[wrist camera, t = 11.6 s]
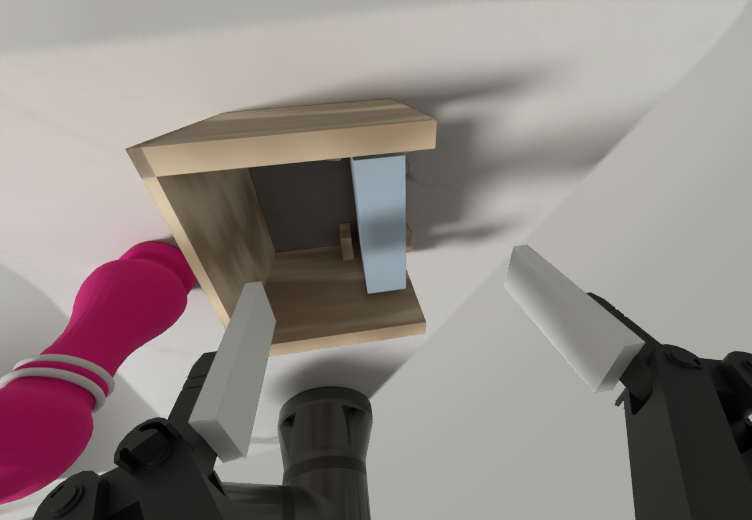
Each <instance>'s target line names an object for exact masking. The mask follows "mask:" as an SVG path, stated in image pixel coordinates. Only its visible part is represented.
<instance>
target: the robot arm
mask: <svg viewBox="0 0 752 520" xmlns="http://www.w3.org/2000/svg"><path fill="white" fill-rule="evenodd" d="M504 288H505V289H506V290H507V291H508V292H509V293H510V295H511V296H512V297H513V298H514V299H515V300H516V302H517V303H518V304H519V305H520V306H521V307H522V309H523V310H524V311H525V312H526V314H527V315H528V316H529V317H530V318H531V319H532V321H533V322H534V323H535V324H536V325H537V326H538V328H539V329H540V330H541V331H542V332H543V334H544V335H545V336H546V337H547V338H548V339H549V340H550V342H551V343H552V344H553V345H554V346H555V348H556V349H557V350H558V351H559V352H560V353H561V354H562V356H563V357H564V358H565V359H566V361H567V362H568V363H569V364H570V365H571V366H572V368H573V369H574V370H575V371H576V372H577V374H578V375H579V376H580V377H581V378H582V379H583V380H584V382H585V383H586V384H587V385H588V386H589V388H590V389H591V390H592V391H593V392H594V393H597V392H603V391H609V390H613V388H614V387H615V385H616V384H617V382H618V381H619V380H620V381H621V382H622V383H623V384H624V386H625V387H626V388H625V389H624V391H623V392H622V393H621V395H620V396H619V397H618V399H617V400H616V403H615V405H616V406H619V405H620V404H621V403H622V401H624V409H625V417H626V428H627V438H628V447H629V458H630V467H631V478H632V488H633V498H634V508H635V518H636V520H752V422H751V421H750V419H749V418H748V416H749V415H751V414H752V354H750V353H746V352H739V351H734V352H731V353H729V354H728V355H727V356H726V357H725V358H724V359H723V360H713V359H704V358H698V357H697V356H696V355H694V354H693V353H691V352H689V351H687V350H685V349H683V348H680V347H677V346H674V345H668V344H664V345H662V344H660V343H659V342H658V341H656V340H655V339H654V338H653V337H651V336H650V335H649V334H648V333H646V332H645V331H644V330H642V329H641V328H640V327H639V326H638V325H636V324H635V323H634V322H632V321H631V320H630V319H629V318H627V317H625V316H624V314H622V313H621V312H620V311H619V310H616V309H615V307H613V306H612V305H611V304H610V303H609V302H607V301H606V300H605V299H603V298H601V297H599V296H597V295H595V294H593V293H591V292H590V293H585V292H584V291H583V290H582V289H580V288H579V287H578V286H577V285H575V284H574V283H573V282H572V281H571V280H569V279H568V278H567V277H566V276H564V275H563V274H562V273H561V272H560V271H559V270H557V269H556V268H555V267H554V266H552V265H551V264H550V263H549V262H548V261H546V260H545V259H544V258H543V257H542V256H540V255H539V254H538V253H537V252H536V251H534V250H533V249H532V248H531V247H529V246H528V245H521V246H514V247H513V251H512V256H511V260H510V264H509V268H508V272H507V276H506V281H505V285H504ZM275 324H276V320H275V317H274V314H273V312H272V309H271V306H270V304H269V301H268V298H267V296H266V293H265V290H264V288H263V285H262V282H261V281H260V282H253V283H245V285H244V288H243V290H242V293H241V295H240V297H239V300H238V302H237V305H236V307H235V310H234V312H233V314H232V317H231V319H230V322H229V324H228V327H227V329H226V331H225V334H224V336H223V339H222V341H221V344H220V346H219V348H218V351H215V352H209V353H204V354H203V355H202V356H201V357H200V358H199V359H198V360H197V362H196V363H195V364H194V365H193V367H192V369H191V371H190V373H189V375H188V377H187V378H188V379H187V380H186V382H185V384H184V386H183V388H182V389H183V390H182V391H181V392H180V394H179V396H178V398H177V400H176V403H175V405H174V407H173V409H172V411H171V413H170V415H169V417H168V419H167V420H166V419H165V418H159V417H157V418H153V419H149V420H147V421H145V422H143V423H141V424H139V425H138V426H136V427H135V428H134V429H133V430H132V431H130V432H129V433H128V434H127V435H126V436H125V437H124V439H123V440H122V441H121V443H120V444H119V446H118V448H117V450H116V452H115V454H114V463H115V464H116V465H118V466H119V467H117V468H115V469H113V470H111V471H109V472H107V473H105V474H102V475H100V476H99V475H98V474H96V473H95V472H93V471H82V472H80V473H78V474H75V475H72V476H71V477H69V478H68V479H66V480H65V481H63V482H62V483H60V484H59V485H58V486H57V487H56V488H55V489H54V490H52V491H51V492H50V493H49V494H48V495H47V497H46V498H45V499H44V500H43V502H42V503H41V504H40V506H39V507H38V509H37V511H36V513H35V515H34V517H33V520H371V518H370V508H369V496H368V485H367V474H366V455H367V450H368V443H369V439H370V433H371V428H372V409H371V404H370V402H369V400H368V399H367V398H366V397H365V396H363V395H362V394H360V393H358V392H356V391H353V390H349V389H344V388H320V389H314V390H310V391H307V392H304V393H301V394H299V395H297V396H295V397H293V398H291V399H290V400H288V401H287V402H286V403H285V404H284V405H283V407H282V408H281V410H280V414H279V421H278V435H279V441H280V448H281V454H282V460H283V466H284V475H283V484H282V485H266V484H265V485H264V484H250V483H232V482H221V481H220V479H219V477H218V475H217V473H216V472H215V470H214V469H213V468H214V464H215V461H216V458H217V456H218V457H219V459H220V460H221V461H222V462H223V463H226V462H231V461H236V460H242V459H246V456H247V452H248V447H249V443H250V438H251V433H252V429H253V424H254V420H255V415H256V411H257V406H258V401H259V397H260V392H261V388H262V383H263V379H264V374H265V369H266V365H267V360H268V356H269V351H270V347H271V342H272V338H273V333H274V328H275Z"/></svg>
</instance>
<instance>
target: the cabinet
mask: <svg viewBox="0 0 752 520" xmlns="http://www.w3.org/2000/svg"><path fill="white" fill-rule="evenodd" d="M436 127H437V120H436V119H434V118H432V117H430V116H428V115H425V114H423V113H421V112H419V111H417V110H414V109H412V108H410V107H408V106H406V105H403V104H401V103H399V102H397V101H395V100H392V99H378V100H367V101H355V102H344V103H332V104H321V105H309V106H298V107H287V108H275V109H264V110H252V111H241V112H229V113H221V114H218V115H216V116H213V117H210V118H207V119H205V120H202V121H199V122H197V123H194V124H191V125H189V126H186V127H183V128H180V129H178V130H175V131H172V132H170V133H167V134H164V135H162V136H159V137H156V138H154V139H151V140H148V141H145V142H143V143H140V144H137V145H135V146H132V147H129V148H127V149H126V151H127V153H128V155H129V157H130V158H131V160H132V162H133V164H134V166H135V167H136V169H137V171H138V173H139V175H140V176H141V178H142V180H143V182H144V184H145V186H146V187H147V189H148V191H149V193H150V195H151V196H152V198H153V200H154V202H155V204H156V206H157V207H158V209H159V211H160V213H161V215H162V216H163V218H164V220H165V222H166V224H167V225H168V227H169V229H170V231H171V233H172V235H173V236H174V238H175V240H176V242H177V244H178V245H179V247H180V249H181V251H182V253H183V254H184V256H185V258H186V260H187V262H188V264H189V265H190V267H191V269H192V271H193V273H194V274H195V276H196V278H197V280H198V282H199V284H200V285H201V287H202V289H203V291H204V293H205V294H206V296H207V298H208V300H209V302H210V303H211V305H212V307H213V309H214V311H215V313H216V314H217V316H218V318H219V320H220V322H221V323H222V325H223V327H224V329H225V331H226V329H227V327H228V324H229V322H230V319H231V317H232V314H233V312H234V310H235V307H236V305H237V302H238V300H239V297H240V295H241V293H242V290H243V288H244V285H245V283H253V282H260V281H261V282H262V285H263V288H264V290H265V293H266V296H267V298H268V301H269V304H270V306H271V309H272V312H273V314H274V317H275V320H276V324H275V328H274V333H273V338H272V342H271V347H270V351H269V356H268V357H271V356H278V355H284V354H291V353H298V352H305V351H311V350H318V349H325V348H332V347H338V346H345V345H352V344H359V343H365V342H372V341H379V340H385V339H392V338H399V337H406V336H412V335H419V334H425V332H426V321H425V318H424V315H423V313H422V310H421V307H420V305H419V302H418V299H417V297H416V294H415V291H414V289H413V286H412V283H411V281H410V278H409V275H408V273H407V270H406V289H399V290H391V291H384V292H377V293H369V294H368V292H367V286H366V279H365V273H364V267H363V260H362V254H361V248H360V242H358V243H352V238H351V231H350V223H342V224H339V227H340V241H341V245H334V246H325V247H317V248H309V249H301V250H293V251H285V252H277V253H275V250H274V247H273V244H272V240H271V237H270V234H269V231H268V228H267V225H266V222H265V219H264V216H263V213H262V210H261V207H260V203H259V200H258V197H257V194H256V191H255V188H254V185H253V182H252V179H251V176H250V173H249V169H248V167H257V166H267V165H276V164H286V163H296V162H306V161H316V160H326V159H327V160H328V162H331V161H341V158H346V157H356V156H366V155H375V154H385V153H395V152H403V153H404V154H410V153H411V151H415V150H425V149H435V146H436ZM410 234H411V230H410V228H409V226H408V224H407V222H406V252H410Z"/></svg>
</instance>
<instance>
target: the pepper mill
mask: <svg viewBox="0 0 752 520" xmlns="http://www.w3.org/2000/svg"><path fill="white" fill-rule="evenodd" d="M196 281H197V278H196V276H195V274H194V273H193V271H192V269H191V267H190V265H189V264H188V262H187V260H186V258H185V256H184V254H183V253H182V251H181V250H179V249H177V248H176V247H173V246H170V245H167V244H165V243H159V242H144V243H140V244H137V245H135V246H133V247H132V248H130V249H129V250H128V251H127V252H126V253H125V254H123V255H122V256H121V257H120V258H119V259H118V260H115V261H111V262H108V263H105V264H103V265H102V266H100V267H98V268H97V269H95V270H94V271H93V272H92V273H91V275H90V276H89V277H88V278H87V279H86V280H85V281H84V283H83V284H82V285H81V288H80V290H79V292H78V294H77V296H76V298H75V302H74V306H73V312H72V315H71V318H70V321H69V324H68V325H67V327H66V329H65V331H64V332H63V333H62V334H61V335H60V337H58V339H57V340H56V341H55V342H54V343H53V344H52V345H51V346H49V347H48V348H47V349H46V350H44V351H43V352H42V353H41V354H40V355H36V356H31V357H28V358H26V359H23V360H21V361H20V362H18V363H17V364H16V365H15V367H14V368H13V370H12V372H10V373H8V374H6V375H4V376H3V377H2V378H1V379H0V504H4V503H8V502H12V501H15V500H18V499H21V498H24V497H26V496H28V495H30V494H32V493H34V492H36V491H38V490H40V489H42V488H44V487H45V486H47V485H48V484H50V483H51V482H53V481H54V480H56V479H57V478H58V477H59V476H60V475H62V474H63V473H64V472H65V471H66V470H67V469H68V468H69V467H70V466H71V465H72V464H73V463H74V462H75V461H76V459H77V458H78V457H79V456H80V455H81V453H82V452H83V451H84V449H85V447H86V445H87V444H88V442H89V440H90V438H91V436H92V432H93V419H92V415H91V414H92V413H95V412H96V411H98V410H99V409H100V408H101V407H102V406H103V405H104V402H105V399H106V398H107V397H108V396H109V395H110V394H111V393H112V392H113V390H114V380H113V376H114V375H115V373H116V371H117V369H118V368H119V366H120V365H121V364H122V363H123V362H124V360H125V359H126V358H127V357H128V356H129V355H130V354H131V353H132V352H134V351H135V350H136V349H138V348H139V347H141V346H142V345H144V344H145V343H147V342H148V341H150V340H152V339H154V338H155V337H157V336H159V335H160V334H162V333H163V332H165V331H166V330H167V329H168V328H169V327H171V326H172V325H173V324H174V323H175V322H176V321H177V320H178V318H179V317H180V316H181V315H182V313H183V312H184V310H185V308H186V305H187V295H188V293H189V292H190V291H191V289H192V288H193V286H194V284H195V283H196Z"/></svg>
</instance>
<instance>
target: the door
mask: <svg viewBox="0 0 752 520" xmlns="http://www.w3.org/2000/svg"><path fill="white" fill-rule="evenodd" d="M350 165H351V174H352V183H353V191H354V200H355V209H356V217H357V226H358V234H359V241H360V248H361V254H362V260H363V267H364V273H365V279H366V286H367V292H368V294H369V293H377V292H384V291H391V290H399V289H406V189H405V174H407V173H409V162H408V159H407V158H405V154H404V153H403V152H395V153H385V154H375V155H366V156H356V157H350Z"/></svg>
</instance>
